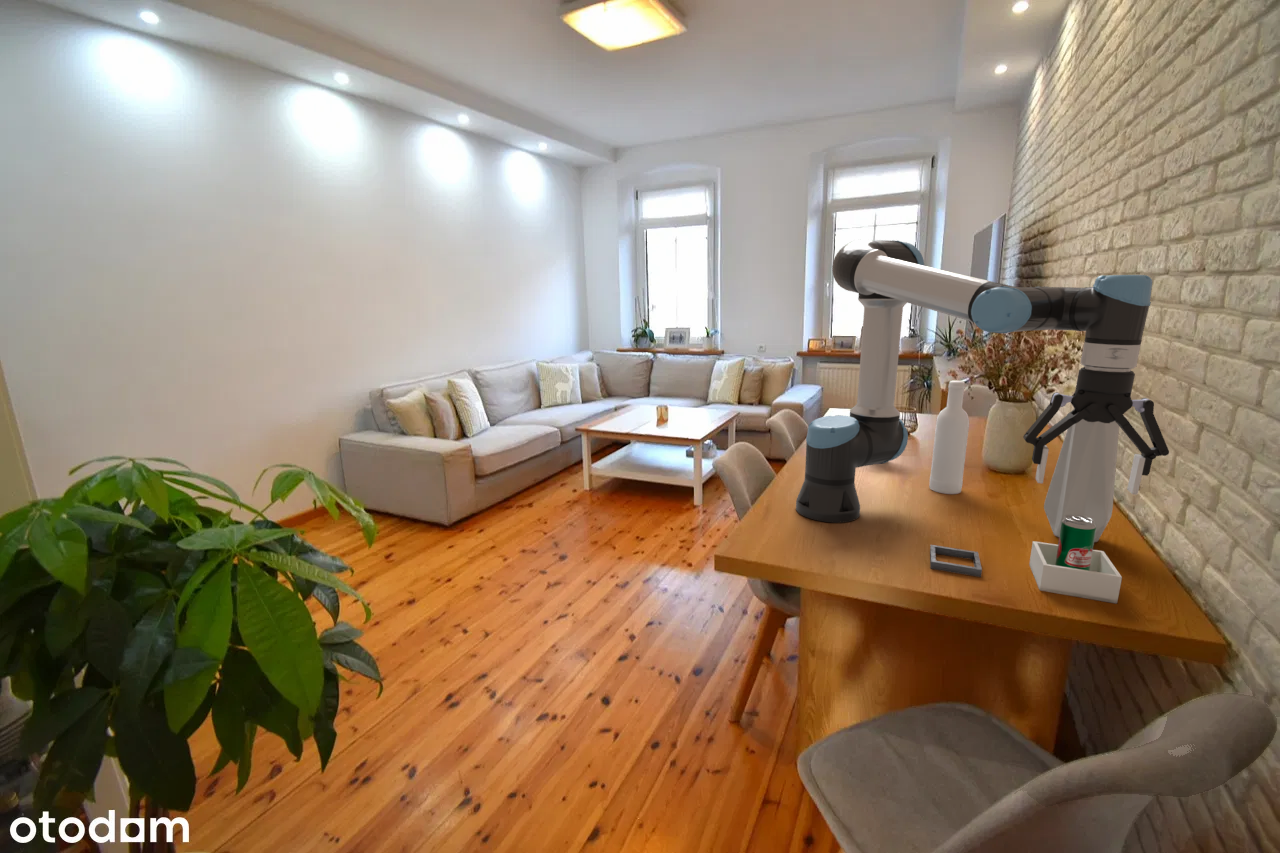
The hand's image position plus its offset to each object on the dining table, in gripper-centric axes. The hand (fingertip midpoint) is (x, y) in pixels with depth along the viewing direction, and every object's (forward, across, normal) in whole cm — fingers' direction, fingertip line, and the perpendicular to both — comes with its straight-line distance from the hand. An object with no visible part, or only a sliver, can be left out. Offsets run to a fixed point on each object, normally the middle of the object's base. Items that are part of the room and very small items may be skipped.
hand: (1084, 486), depth 103 cm
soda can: (+18, 0, 0) cm, 18 cm away
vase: (+19, +6, +25) cm, 32 cm away
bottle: (+20, -18, +49) cm, 56 cm away
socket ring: (+19, -18, 0) cm, 26 cm away
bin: (+19, 0, 0) cm, 19 cm away
